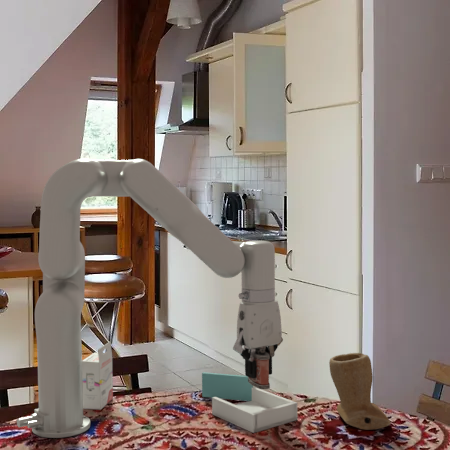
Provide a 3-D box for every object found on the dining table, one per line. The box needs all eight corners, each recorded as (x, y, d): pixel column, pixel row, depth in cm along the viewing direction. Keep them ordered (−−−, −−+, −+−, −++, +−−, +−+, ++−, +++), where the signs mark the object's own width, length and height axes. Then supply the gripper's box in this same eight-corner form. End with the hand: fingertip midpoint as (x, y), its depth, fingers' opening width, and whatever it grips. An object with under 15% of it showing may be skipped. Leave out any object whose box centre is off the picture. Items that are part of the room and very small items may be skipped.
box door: (202, 396, 173) (202, 373, 173) (203, 395, 174) (203, 372, 174) (252, 401, 170) (252, 377, 169) (253, 400, 170) (253, 376, 170)
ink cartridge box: (94, 397, 174) (93, 340, 173) (113, 398, 173) (112, 340, 172) (81, 408, 166) (79, 348, 165) (100, 410, 165) (99, 349, 164)
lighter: (273, 388, 155) (272, 344, 154) (259, 390, 153) (259, 345, 153) (258, 378, 162) (257, 336, 161) (244, 380, 161) (244, 337, 160)
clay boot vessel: (325, 409, 165) (325, 347, 164) (374, 409, 165) (375, 347, 164) (336, 433, 150) (337, 365, 148) (391, 432, 150) (392, 364, 149)
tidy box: (253, 433, 150) (253, 414, 149) (212, 414, 162) (212, 397, 161) (297, 419, 158) (297, 402, 157) (254, 402, 169) (254, 386, 169)
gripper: (239, 302, 148) (240, 386, 150) (296, 293, 158) (296, 372, 160) (218, 297, 154) (219, 378, 156) (274, 289, 164) (275, 365, 166)
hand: (258, 374), depth 158 cm, fingers closed on lighter, 4 cm apart
